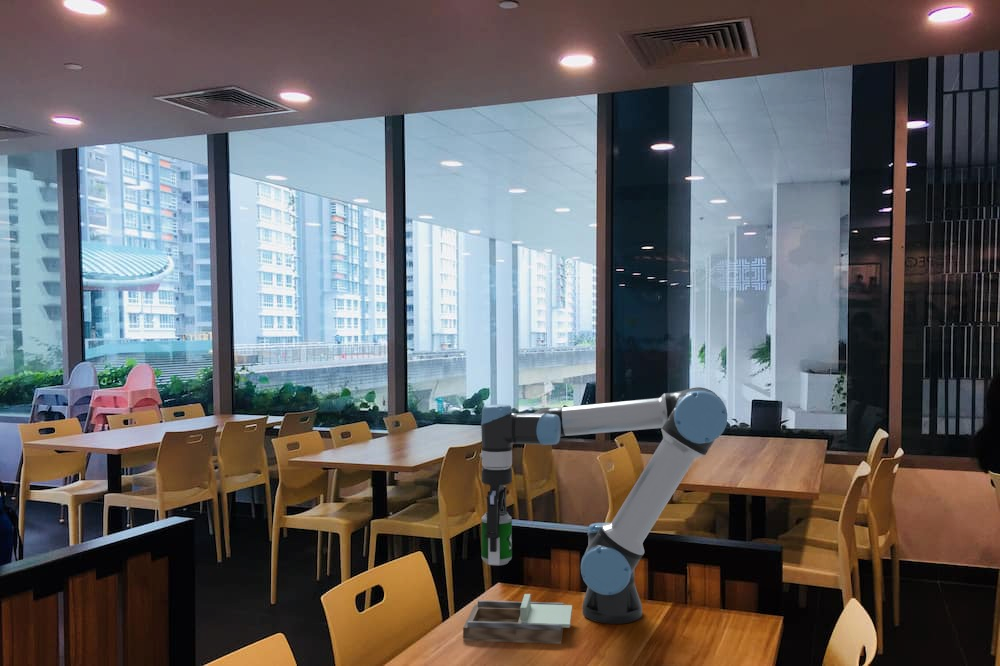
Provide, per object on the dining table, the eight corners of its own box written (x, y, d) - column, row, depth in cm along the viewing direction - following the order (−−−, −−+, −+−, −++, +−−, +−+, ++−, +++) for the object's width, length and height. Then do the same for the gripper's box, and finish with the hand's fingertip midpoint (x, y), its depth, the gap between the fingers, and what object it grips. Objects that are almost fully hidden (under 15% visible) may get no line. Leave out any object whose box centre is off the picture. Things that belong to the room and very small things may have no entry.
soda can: (508, 567, 186) (507, 517, 186) (478, 565, 188) (477, 516, 188) (514, 558, 194) (514, 511, 194) (486, 556, 195) (485, 509, 196)
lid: (572, 608, 193) (571, 593, 193) (569, 627, 180) (569, 611, 180) (525, 606, 194) (525, 591, 194) (519, 625, 182) (519, 609, 182)
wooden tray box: (564, 619, 195) (564, 602, 195) (560, 644, 179) (560, 625, 179) (474, 616, 198) (474, 599, 198) (463, 640, 182) (463, 622, 182)
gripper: (489, 460, 202) (489, 547, 202) (473, 473, 182) (473, 571, 181) (517, 461, 200) (518, 549, 200) (504, 474, 180) (505, 572, 180)
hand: (497, 559), depth 191 cm, fingers closed on soda can, 7 cm apart
